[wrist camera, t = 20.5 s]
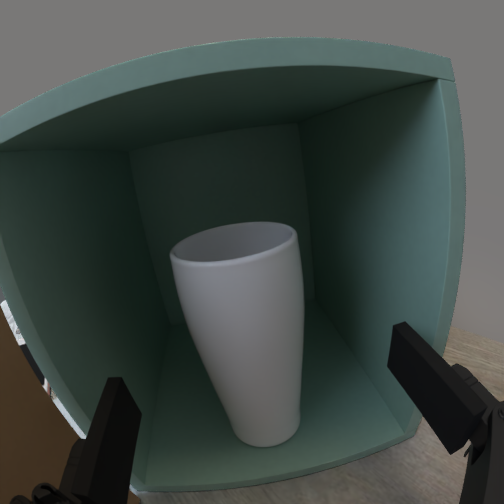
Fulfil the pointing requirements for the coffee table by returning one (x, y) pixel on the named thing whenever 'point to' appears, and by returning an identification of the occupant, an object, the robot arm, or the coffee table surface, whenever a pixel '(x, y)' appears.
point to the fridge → (231, 212)
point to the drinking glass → (247, 322)
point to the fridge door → (29, 426)
